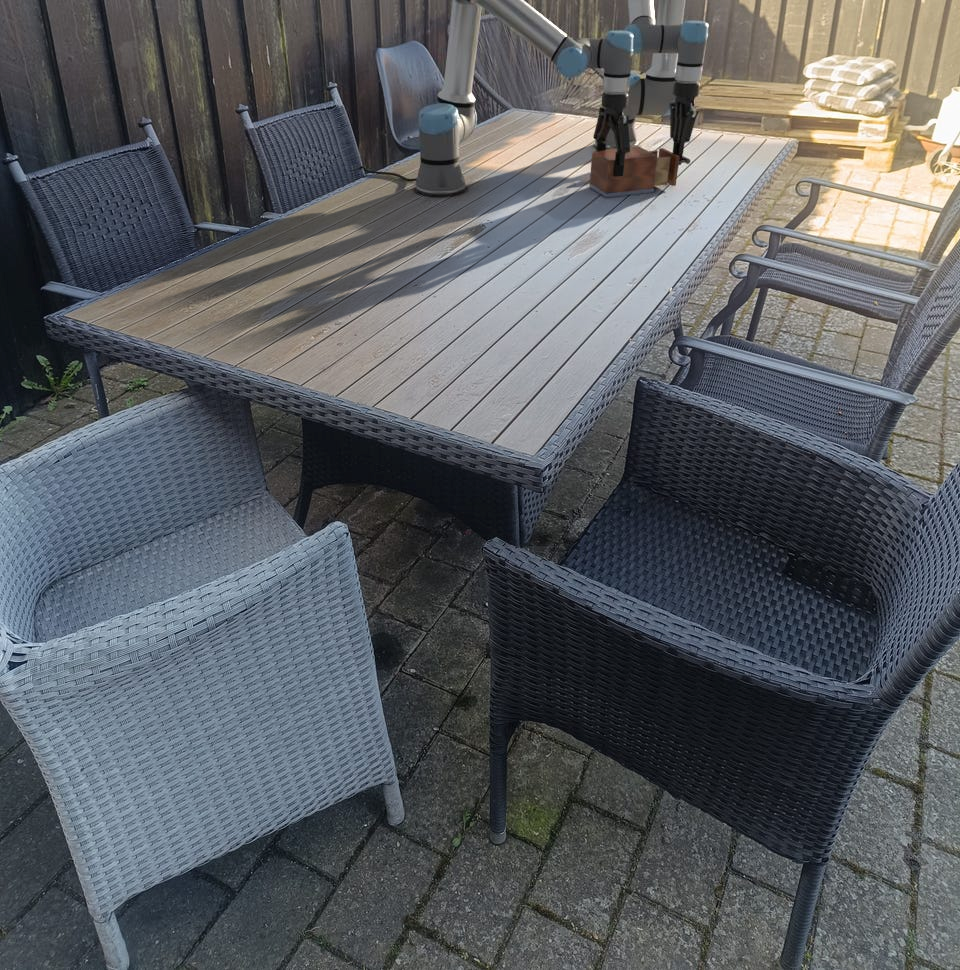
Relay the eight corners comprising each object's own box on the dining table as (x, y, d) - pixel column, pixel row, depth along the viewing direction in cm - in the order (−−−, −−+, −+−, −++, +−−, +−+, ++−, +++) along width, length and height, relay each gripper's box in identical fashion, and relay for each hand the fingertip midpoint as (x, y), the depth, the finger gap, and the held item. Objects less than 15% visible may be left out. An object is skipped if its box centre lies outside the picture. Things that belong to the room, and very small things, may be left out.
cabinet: (635, 181, 265) (639, 146, 259) (653, 192, 257) (657, 155, 250) (589, 186, 261) (592, 150, 254) (606, 197, 252) (609, 160, 246)
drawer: (673, 175, 268) (677, 146, 263) (690, 184, 260) (695, 154, 255) (617, 181, 262) (620, 152, 257) (633, 190, 255) (636, 160, 250)
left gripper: (647, 99, 233) (639, 179, 246) (608, 83, 251) (602, 159, 264) (623, 101, 231) (616, 182, 244) (585, 85, 249) (580, 161, 262)
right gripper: (710, 84, 243) (697, 168, 256) (687, 76, 253) (676, 158, 267) (688, 86, 241) (676, 171, 254) (665, 78, 251) (655, 160, 264)
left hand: (608, 170), depth 254 cm, fingers closed on cabinet, 11 cm apart
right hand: (676, 164), depth 260 cm, fingers closed
